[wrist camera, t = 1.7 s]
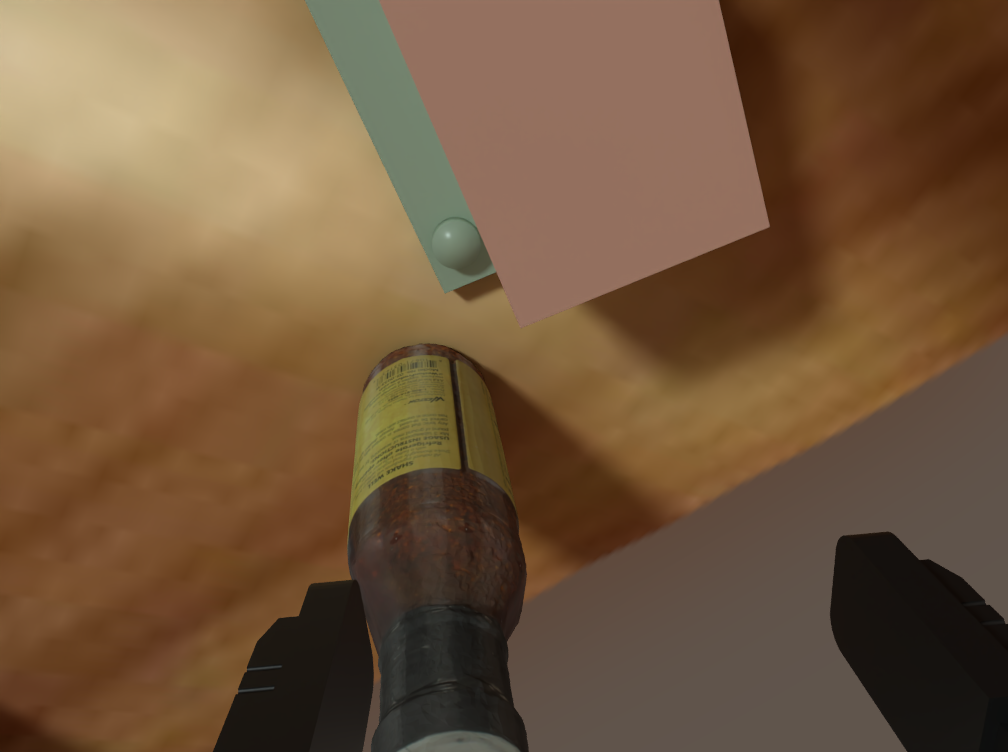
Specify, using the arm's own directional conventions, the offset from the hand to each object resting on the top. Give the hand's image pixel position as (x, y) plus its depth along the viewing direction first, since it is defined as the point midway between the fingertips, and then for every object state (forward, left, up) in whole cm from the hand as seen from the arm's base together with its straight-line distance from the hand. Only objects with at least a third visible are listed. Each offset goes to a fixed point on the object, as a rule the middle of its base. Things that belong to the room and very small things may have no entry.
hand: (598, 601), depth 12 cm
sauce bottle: (+7, -6, -23) cm, 24 cm away
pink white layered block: (-6, +4, -22) cm, 24 cm away
